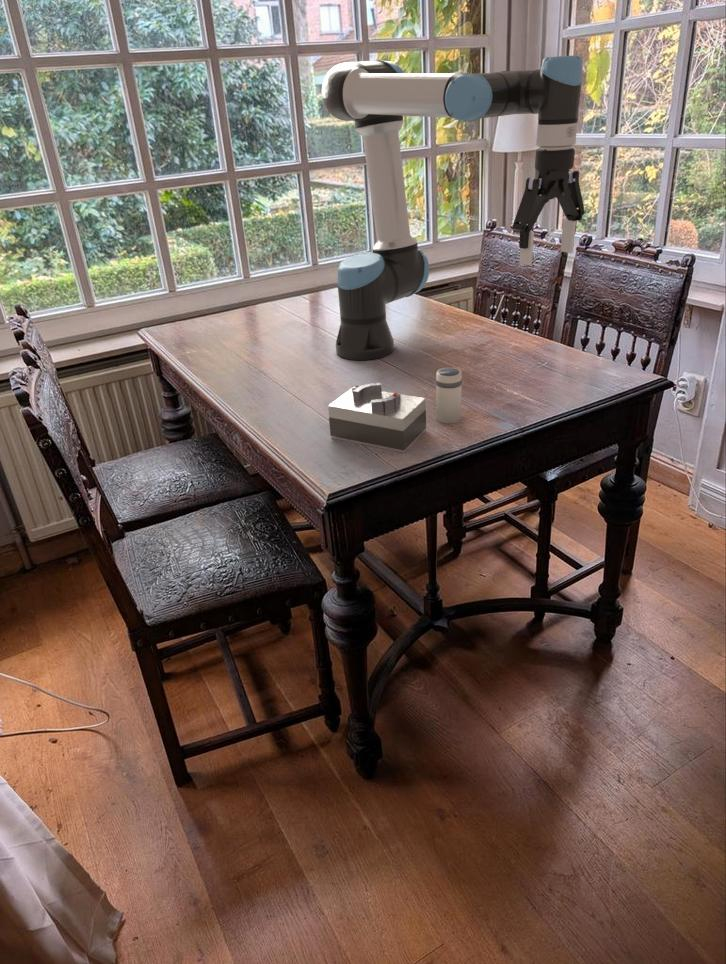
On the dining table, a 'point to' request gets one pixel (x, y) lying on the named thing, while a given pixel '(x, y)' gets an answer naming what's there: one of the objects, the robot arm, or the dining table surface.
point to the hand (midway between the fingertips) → (546, 258)
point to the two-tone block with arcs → (377, 418)
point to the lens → (448, 395)
